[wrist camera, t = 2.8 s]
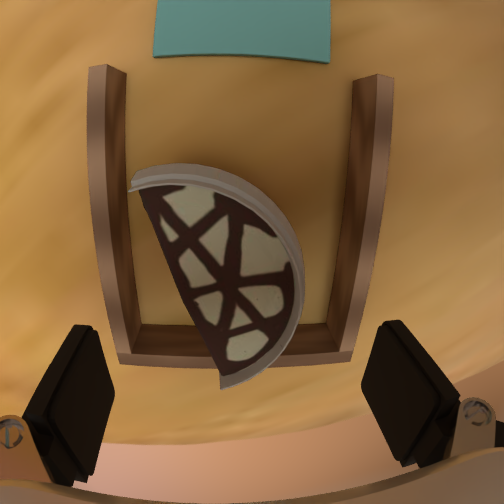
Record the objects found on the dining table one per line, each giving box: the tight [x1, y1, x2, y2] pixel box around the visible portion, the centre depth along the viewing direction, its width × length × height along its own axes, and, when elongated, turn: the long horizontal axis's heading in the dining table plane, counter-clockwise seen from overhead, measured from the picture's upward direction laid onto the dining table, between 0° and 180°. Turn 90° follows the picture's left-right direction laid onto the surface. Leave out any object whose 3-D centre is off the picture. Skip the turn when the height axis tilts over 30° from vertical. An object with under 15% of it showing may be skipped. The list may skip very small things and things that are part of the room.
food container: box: [128, 163, 305, 390], centre depth 18 cm, size 12×6×10 cm, turn 17°
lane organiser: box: [87, 64, 394, 369], centre depth 21 cm, size 21×18×4 cm
